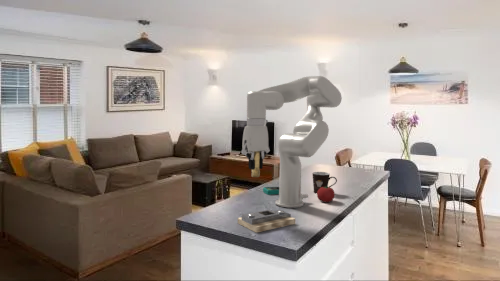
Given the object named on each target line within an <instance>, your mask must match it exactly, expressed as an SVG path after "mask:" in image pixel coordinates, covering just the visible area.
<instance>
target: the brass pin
mask: <svg viewBox="0 0 500 281" xmlns="http://www.w3.org/2000/svg"><path fill="white" fill-rule="evenodd" d="M253 160H255V169H254V170H252V169H251V177H252V178H259V177H260V175H261V174H260V173H261V171H260V170H261V169H260V151H258V152H254V159H253Z"/></svg>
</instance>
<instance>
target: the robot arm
mask: <svg viewBox="0 0 500 281" xmlns="http://www.w3.org/2000/svg"><path fill="white" fill-rule="evenodd" d="M246 94H247V95H246V126H244V129H243V134H242V145H241V146H242V149H241V154H242V155H244V156H245V157H246V158H247V160H248V169H249V170H251V171H252V170H254V169H255V160H253V159H254V152H258V151H260V170H262V169H263V167H264V166H263V165H264V159H265V157H266V155H267V154H268V153H269V152H270V151H271V150H270V146H269V131H268V126H267V123H268V119H266V118H267V116H266V115H267V110H268V111H277V110H279V109H281V108H282V107H283V106H284V104H287V103H295V102H297V101H299V100H301V99H303V98H306V112H305V114H304V115H303V116H302V117H301V118H300V119H299V121H298V122H296V124H295V125H294V127H293V130H292V132H293V133H285V134H282V135H281V136H280V137H279V139H278V141H277V148H278V154H279V180H278V184H279V186H278V187H279V194H278V199H276V200H275V205H276V206H278V207H282V208H292V209H295V208H301V207H303V206H304V203H305V202H304V201H303V200H304V199H308V198H309V194H308V193H304V194H303V193H301V191H302V190H301V189H302V186H301V185H302V162H301V160H300V157H301V158H311V157H313V156H314V155H315V154H316V153H317V152H318V150H319V149H320V148H321V146H322V145H323V144H324V143H325V142H326V140H327V138H328V136H329V130H330V129H329V125H328V124H327V122H326V121H324V120H323V119H324V116H323V113H322V112H321V111H322V110H321V108H337V107H338V106H339V105H341V104H342V103H341V102H342V98H343V97H342V94H341V92H340V90H339V88H337V87H336V86H335V85H334V83H333V82H331V81H330V80H329V79H328V78H327V77H325V76H324V75H323V76H322V75H314V76H313V75H311V76H304V77H300V78H298V79H295V80H292V81H289V82H286V83H282V84H277V85H274V86H270V87H266V88H263V89H260V90H258V91H249V92H248V93H246Z"/></svg>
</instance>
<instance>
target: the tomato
mask: <svg viewBox="0 0 500 281" xmlns="http://www.w3.org/2000/svg"><path fill="white" fill-rule="evenodd" d="M335 194H336V193H335V191H334V189H333V188H332V187H329V186H328V187H327V186H326V187H321V188H320V189H319V190H318V192H317V194H316V197H317V199H318V200H319V201H321V202H322V203H329V202H332V201H333V200H334V199H335V196H336V195H335Z"/></svg>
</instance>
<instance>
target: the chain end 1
mask: <svg viewBox="0 0 500 281" xmlns="http://www.w3.org/2000/svg"><path fill="white" fill-rule="evenodd" d="M275 211H276V210H271V209H265V210H264V209H263V210H259V211H254V212H249V213H244V214H243V213H242V214H241V217H242V220H243V221H245V222H247V223H249V224H251V225H254V224H259V223H263V222H264V220H265V219H270V218H275V217H280V213H277V212H275ZM266 213H268V214H271V215H266V216H265V215H263V214H266Z"/></svg>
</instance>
